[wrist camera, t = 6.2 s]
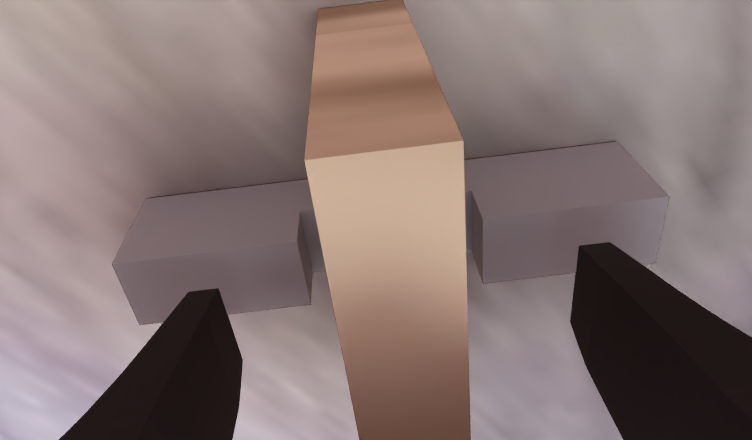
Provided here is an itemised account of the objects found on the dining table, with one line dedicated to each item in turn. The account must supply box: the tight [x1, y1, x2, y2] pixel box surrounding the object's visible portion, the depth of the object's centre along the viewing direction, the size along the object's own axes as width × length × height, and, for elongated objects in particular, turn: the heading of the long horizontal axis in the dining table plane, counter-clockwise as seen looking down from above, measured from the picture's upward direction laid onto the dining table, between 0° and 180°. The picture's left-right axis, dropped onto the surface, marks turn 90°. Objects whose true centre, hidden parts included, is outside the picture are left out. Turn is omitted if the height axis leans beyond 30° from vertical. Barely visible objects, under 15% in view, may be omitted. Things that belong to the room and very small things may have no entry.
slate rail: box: [112, 142, 669, 325], centre depth 14 cm, size 12×2×3 cm, turn 96°
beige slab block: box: [304, 0, 471, 440], centre depth 12 cm, size 10×2×7 cm, turn 6°
